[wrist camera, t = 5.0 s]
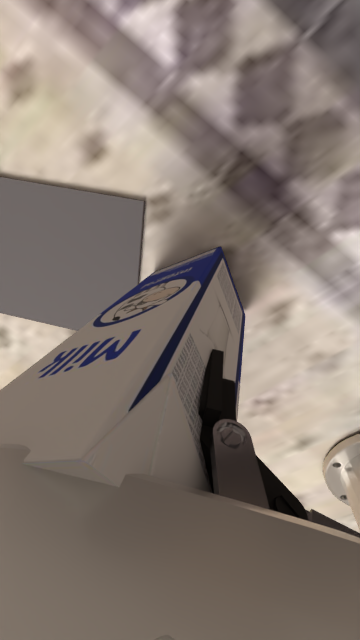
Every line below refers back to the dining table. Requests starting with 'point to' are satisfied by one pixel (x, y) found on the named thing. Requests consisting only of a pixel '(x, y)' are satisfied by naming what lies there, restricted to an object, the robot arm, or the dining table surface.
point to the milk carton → (132, 381)
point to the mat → (66, 252)
